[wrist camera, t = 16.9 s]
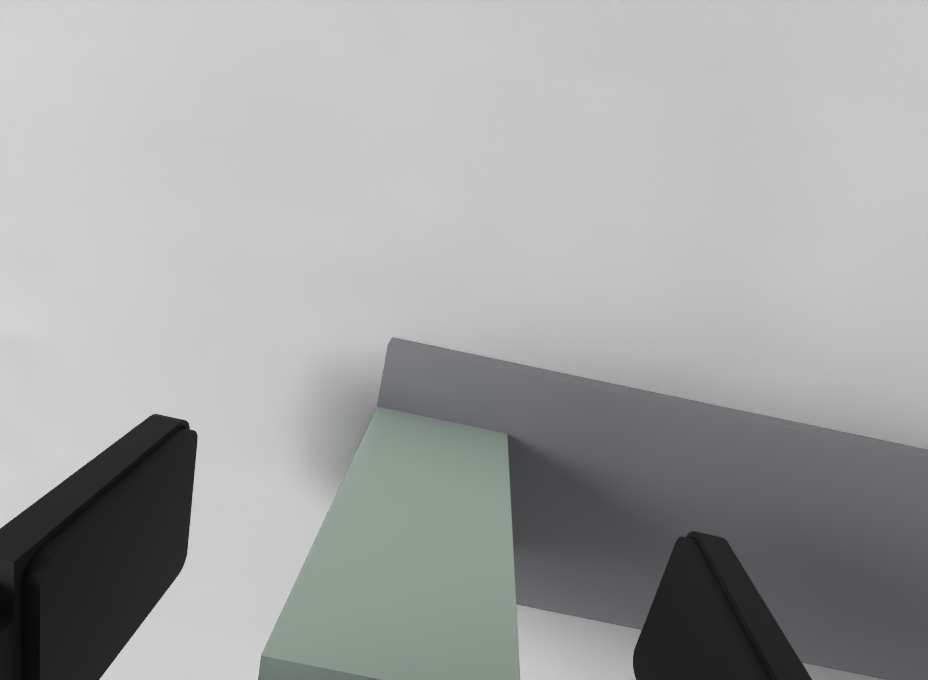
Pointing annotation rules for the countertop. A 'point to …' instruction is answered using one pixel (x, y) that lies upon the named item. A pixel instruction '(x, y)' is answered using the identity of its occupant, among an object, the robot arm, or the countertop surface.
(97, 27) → the countertop surface
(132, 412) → the countertop surface
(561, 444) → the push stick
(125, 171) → the countertop surface
